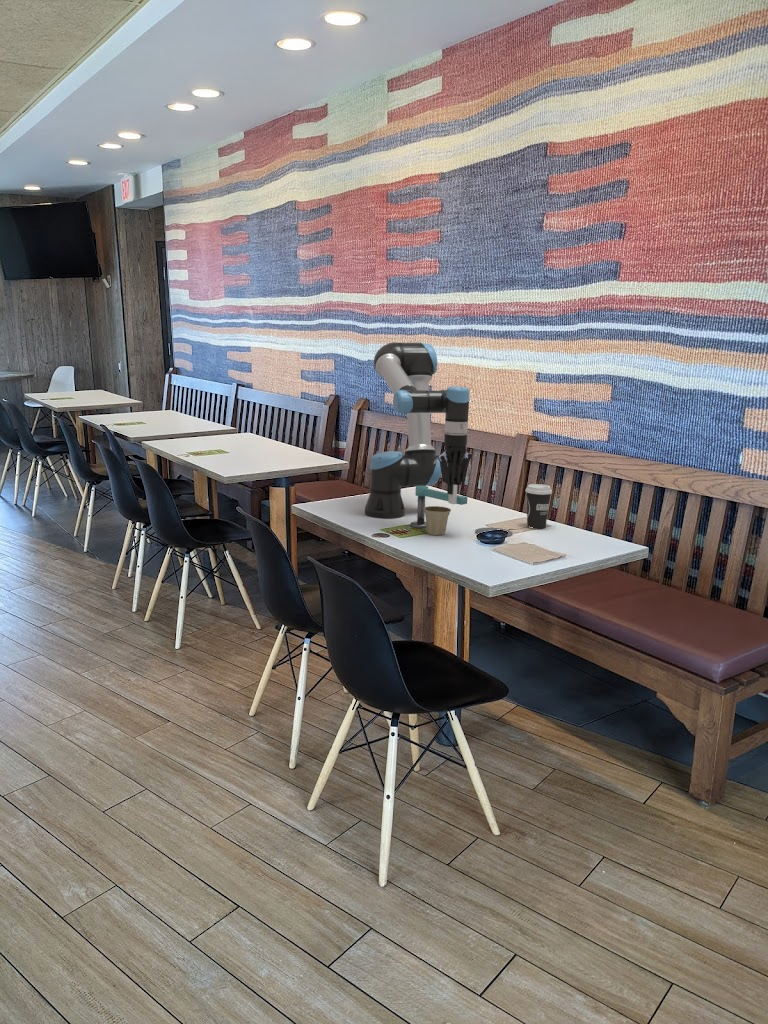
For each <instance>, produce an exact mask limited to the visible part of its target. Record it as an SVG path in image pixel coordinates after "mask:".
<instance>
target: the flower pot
mask: <svg viewBox="0 0 768 1024" xmlns="http://www.w3.org/2000/svg"><path fill="white" fill-rule="evenodd" d="M424 510H425V522H426V524H427V528H426V533H427V534H429V535H431V536H441V535H442V536H443V535H445V534H446V530H447V524H448V519H449V516H450V513H451V511H452V509H451V508H450V507H446V506H439V505H438V506H437V505H435V506H434V505H430V506H425V508H424Z"/></svg>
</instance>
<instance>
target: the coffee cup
mask: <svg viewBox="0 0 768 1024" xmlns="http://www.w3.org/2000/svg"><path fill="white" fill-rule="evenodd" d="M525 492H526V524H527V525H528V526H530V527H533V528H537V529H536V530H543V529H546V526H547V521H548V519H547V518H548V514H549V507H550V501H551V496H552V494H553V490H552V488H551V486H550V485H548V484H542V483H541V484H538V483H530V484H527V487H526V488H525ZM527 525H526V526H527Z"/></svg>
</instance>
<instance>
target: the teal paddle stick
mask: <svg viewBox="0 0 768 1024" xmlns="http://www.w3.org/2000/svg"><path fill="white" fill-rule="evenodd" d="M414 495H415V496H416V497H418V496H425V497H426V498H427V497H428V498H432V499H435V500H436V499H437V500H441V501H444V502H445V501H446V502H448V501H449V494H448V493H447V492H445V491H441V490H436V489H430V488H429V486H415V494H414ZM467 504H468V496H465V495H459V494H457V504H456V505H459V506H462V505H467Z"/></svg>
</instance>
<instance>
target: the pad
mask: <svg viewBox="0 0 768 1024" xmlns="http://www.w3.org/2000/svg"><path fill="white" fill-rule="evenodd" d="M497 529H500V530H507V531H508V536H507V537H506V538H509V537H511V536H513V531H511V530H509V529H506V528H503V527H502V528H500V527H481V528H477V529H475V530H474V534H476V535H477V534H478V533H481V532H484V531H489V530H497Z"/></svg>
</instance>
